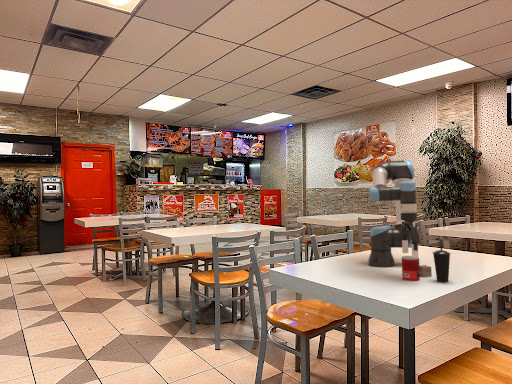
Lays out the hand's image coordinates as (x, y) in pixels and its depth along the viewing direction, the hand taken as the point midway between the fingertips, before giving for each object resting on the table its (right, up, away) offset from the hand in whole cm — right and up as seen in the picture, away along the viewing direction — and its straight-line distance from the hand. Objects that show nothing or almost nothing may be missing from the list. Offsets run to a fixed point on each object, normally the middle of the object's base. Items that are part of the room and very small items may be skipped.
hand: (410, 255), depth 177 cm
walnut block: (+10, -12, +6) cm, 17 cm away
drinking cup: (+13, -12, -6) cm, 19 cm away
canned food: (0, -12, 0) cm, 12 cm away
